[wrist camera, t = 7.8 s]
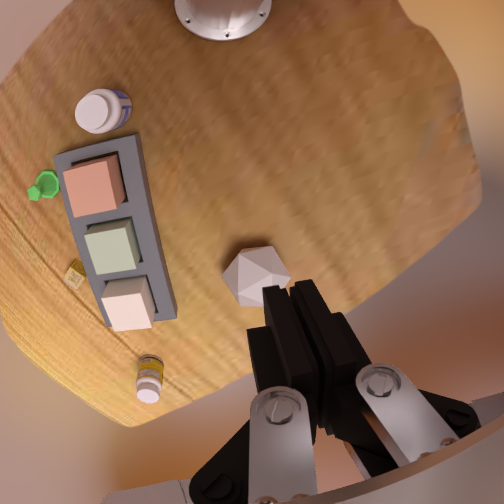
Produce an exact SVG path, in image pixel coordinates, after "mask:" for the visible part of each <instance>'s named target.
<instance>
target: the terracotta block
mask: <svg viewBox="0 0 504 504" xmlns="http://www.w3.org/2000/svg"><path fill="white" fill-rule="evenodd" d="M63 176H64V180H65V184H66V188H67V192H68V196H69V200H70V204H71V208H72V211H73V215H74V218H76V217H80V216H85V215H90V214H94V213H99V212H104V211H109V210H114V209H117V208H118V207H119V205H120V204H121V203H122V202H123V200H124V199H125V198H126V195H125V191H124V186H123V181H122V177H121V172H120V167H119V161H118V156H117V154H115V155H111V156H106V157H102V158H98V159H94V160H90V161H86V162H82V163H79V164H76V165H74V166H72V167H71V168H69V169H67V170H65V171H63Z"/></svg>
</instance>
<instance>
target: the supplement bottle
mask: <svg viewBox="0 0 504 504" xmlns="http://www.w3.org/2000/svg"><path fill="white" fill-rule="evenodd" d="M163 367H164V365H163V362H162V360H161V359H160V358H158V357H156V356H153V355H146V356H144V357H142V358H141V359H140V361H139V367H138V374H137V380H136V388H137V397H138V399H139V400H141V401H142V402H145V403H155V402H157V401H158V400H159V395H160V392H161V390H162V380H163Z"/></svg>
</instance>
